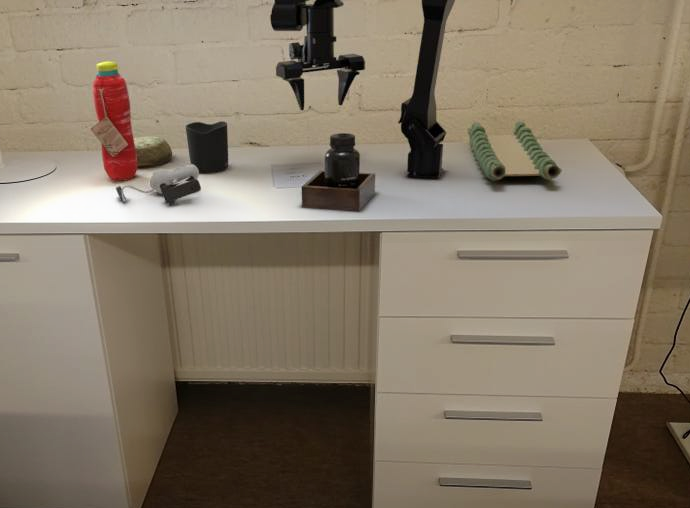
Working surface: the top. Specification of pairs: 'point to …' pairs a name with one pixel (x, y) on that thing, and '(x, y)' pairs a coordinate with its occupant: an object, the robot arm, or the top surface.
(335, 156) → the supplement bottle
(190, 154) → the pen holder
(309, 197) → the holder
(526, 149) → the stretcher
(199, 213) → the top surface
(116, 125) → the water bottle
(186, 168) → the clip-on lamp
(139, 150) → the mossy green stone
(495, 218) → the top surface
